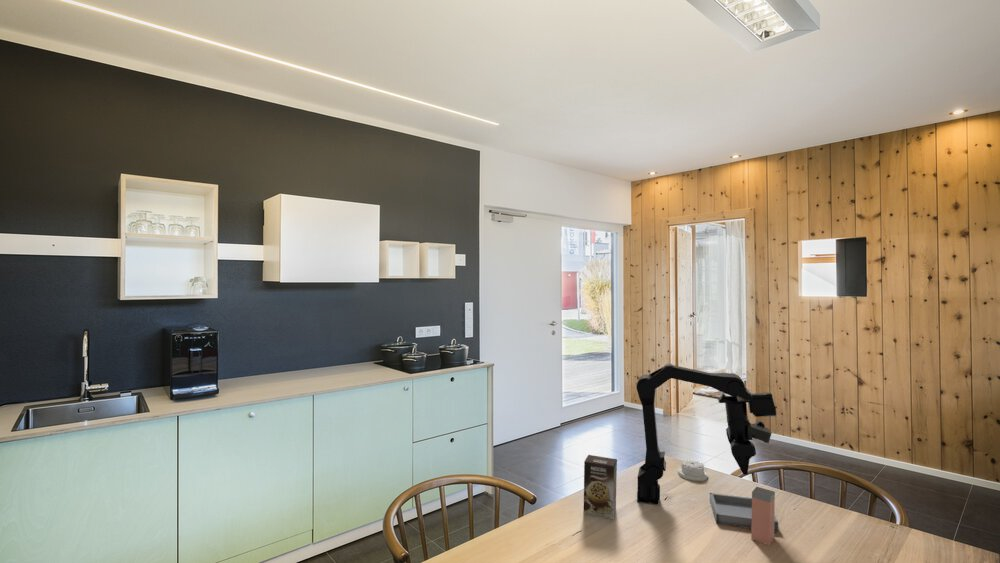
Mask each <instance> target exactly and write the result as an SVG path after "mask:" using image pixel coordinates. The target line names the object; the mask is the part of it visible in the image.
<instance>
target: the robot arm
mask: <svg viewBox="0 0 1000 563" xmlns="http://www.w3.org/2000/svg"><path fill="white" fill-rule="evenodd" d="M670 379H674V380H678V381H683V382H686V383H687V382H688V383H692V384H696V385H702V386H705V387H706V386H707V387H710V388H712V389H713V390H714V389H715V390H717V391H718V392H720V393H722V394H721V395H720V396H719V397H718V398H717V400H718V403H719V404H725V411H726V413H725V414H726V423H727V428H726V429H725V432H726V437H727V440H728V442H729V446H730V450H731V452H730V453H731V454H732V456H733V458H734V460H735V462H736V464H737V465H738V467H739V469H740V472H741V474H742V475H744V476H748V473H749V468H750V467H749V466H750V460H751V458H753V457H755V456H756V455H757V451H756V445H755V444H754V443H753V442H752V441H753V439H755V440H757V441H758V440H759V441H761V442H764V443H765V444H769V443H770V440H771V437H772V431H771V429H770V428H769V427H765V426H766V425H765V423H764V422H763V421H762V420H757V421H756V422H755V423H751V422H750V419H749V416H748V412H749V414H752V415H753V416H754V417H757V418H758V417H760V418H761V417H763V418H764V417H765V418H767V417H777V408H776V405H775V402H774V397H773V394H772V392H764V393H761V392H760V393H751V392H750V390H749V389H748V388H746V386H745V382H744V381H743V379H742V378H741V377H740V375H738V374H736V373H731V372H715V373H714V372H707V371H702V370H698V369H693V368H688V367H685V366H684V367H683V366H679V365H674V364H672V363H665V365H664V366H662V367H660V368H659V369H656V370H654V371H653V372H651V373H650V374H647V373H646V374H643V375H641V376H639V377H638V380H637V382H636V391H637V395H638V398H639V401H640V404H641V408H642V417H643V426H644V437H645V438H644V439H645V459H644V463H643V464H642V465H641V466H640V467H639V468H638V473H637V492H636V502H637V503H644V504H652V505H659V501H660V500H661V486H660V484H659V480H660V479H662V478H663V476H664V472H666V468H667V462H666V459H665V456H666V455H665V454H666V451H661V450H660V446H659V439H658V428H657V416H656V407H655V401H656V391H657V389H658V388H659V387H661V386H662V385H664V384H665V383H666V382H668V381H669V380H670ZM747 407H748V410H747Z"/></svg>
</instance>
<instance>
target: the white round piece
mask: <svg viewBox="0 0 1000 563" xmlns="http://www.w3.org/2000/svg"><path fill="white" fill-rule="evenodd" d="M680 466H681V467H678V469H677V474H678V476H680V477H681V478H683V479H686V480H689V481H696V482H699V481H700V482H701V481H706V480H708V476H709V473H708V472H707V471H706V470H705V465H704V464H703V463H701V462H699V461H696V460H692V459H689V460H688V459H687V460H682V461H681V465H680Z"/></svg>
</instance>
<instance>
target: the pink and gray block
mask: <svg viewBox="0 0 1000 563" xmlns="http://www.w3.org/2000/svg"><path fill="white" fill-rule="evenodd" d="M751 498H752V526H751V528H750V529H751V531H750V532H751V535H750V537H751V538H750V540H754V541H756V542H759V543H762V544H765V545H767V546H771V544H772V543H773V541H774V539H775V532H774V515H775V508H776V507H775V506H776V505H775V504H776V503H775V500H776V491H774V490H770V489H766V488H763V487H761V486H760V487H759V486H756V487H755V488H753V490H752V491H751Z"/></svg>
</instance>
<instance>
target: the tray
mask: <svg viewBox="0 0 1000 563" xmlns="http://www.w3.org/2000/svg"><path fill="white" fill-rule="evenodd" d="M709 504H710V508H711V511H712V513H713V518H714V520H715V523H716V524H717V525H722V526H723V525H724V526H733V527H739V528H747V529H751V526H752V497H747V496H741V495H740V496H738V495H730V494H723V493H722V494H721V493H715V492H714V493H712V492H709ZM774 533H779V521H778V519H777V517H776V515H775V514H774Z"/></svg>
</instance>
